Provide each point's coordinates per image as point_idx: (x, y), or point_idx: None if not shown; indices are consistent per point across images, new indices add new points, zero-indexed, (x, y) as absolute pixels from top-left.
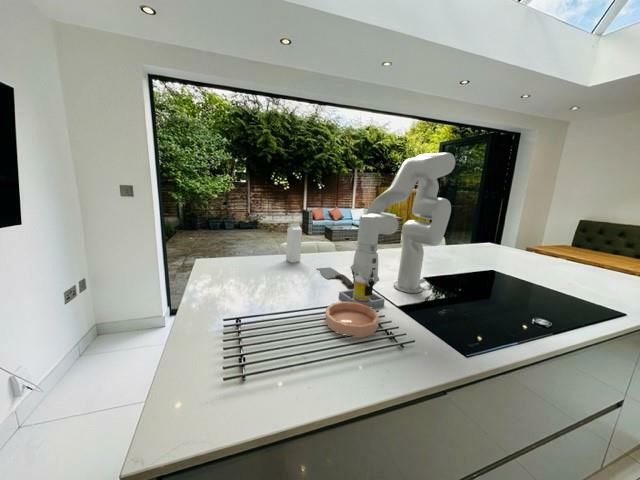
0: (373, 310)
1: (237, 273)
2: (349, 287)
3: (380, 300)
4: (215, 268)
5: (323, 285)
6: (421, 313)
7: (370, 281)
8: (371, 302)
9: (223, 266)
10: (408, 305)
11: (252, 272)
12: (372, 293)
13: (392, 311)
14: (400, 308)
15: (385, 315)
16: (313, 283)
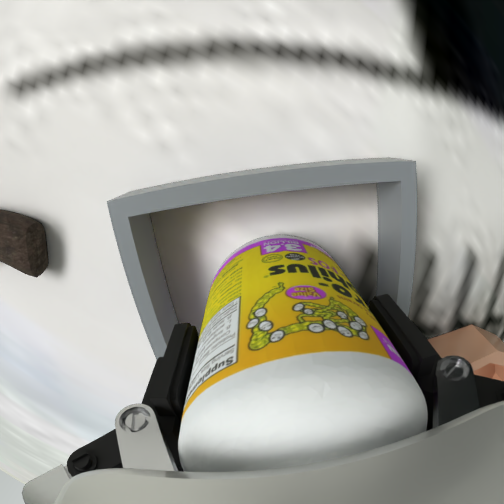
0: (487, 359)
1: (34, 474)
2: (45, 261)
3: (415, 211)
4: (25, 479)
5: (35, 369)
6: (496, 41)
7: (427, 411)
8: (409, 302)
9: (10, 467)
10: (419, 5)
11: (15, 456)
12: (270, 191)
13: (463, 169)
14: (448, 85)
15: (473, 246)
16: (26, 390)
